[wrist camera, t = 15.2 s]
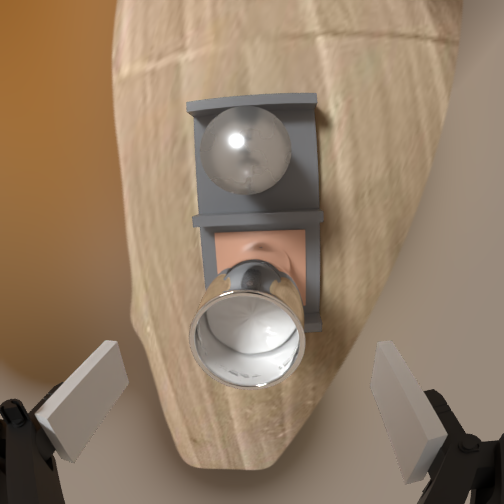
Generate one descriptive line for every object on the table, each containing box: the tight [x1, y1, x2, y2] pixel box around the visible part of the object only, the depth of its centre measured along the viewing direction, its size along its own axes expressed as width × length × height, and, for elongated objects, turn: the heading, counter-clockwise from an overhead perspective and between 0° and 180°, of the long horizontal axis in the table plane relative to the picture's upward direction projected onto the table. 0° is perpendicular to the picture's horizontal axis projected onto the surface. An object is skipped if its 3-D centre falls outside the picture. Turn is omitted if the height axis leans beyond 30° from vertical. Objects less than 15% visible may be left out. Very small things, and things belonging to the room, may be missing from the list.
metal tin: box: [200, 106, 291, 195], centre depth 24 cm, size 6×6×10 cm
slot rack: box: [186, 93, 323, 332], centre depth 29 cm, size 23×12×3 cm, turn 3°
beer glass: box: [189, 240, 305, 390], centre depth 23 cm, size 7×7×15 cm
